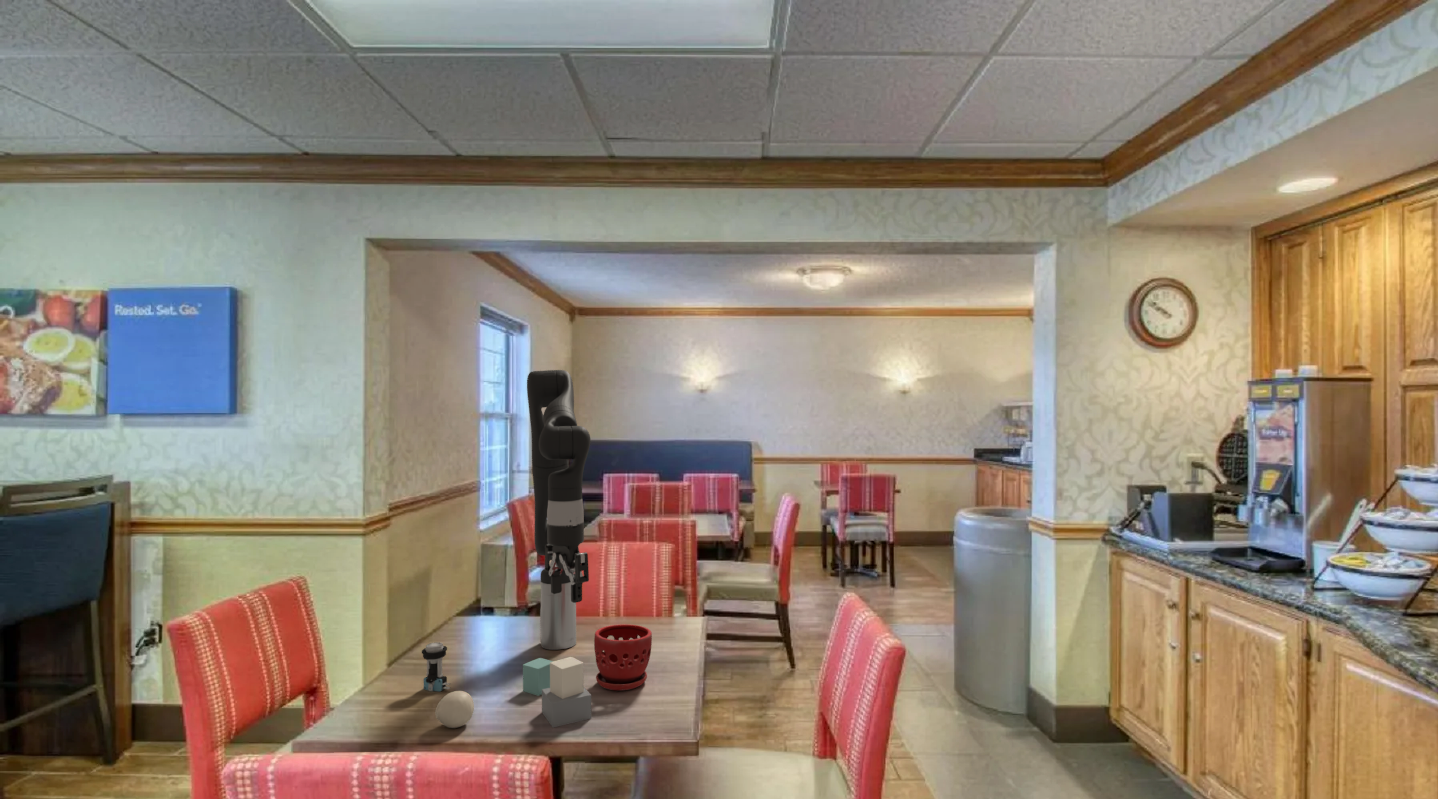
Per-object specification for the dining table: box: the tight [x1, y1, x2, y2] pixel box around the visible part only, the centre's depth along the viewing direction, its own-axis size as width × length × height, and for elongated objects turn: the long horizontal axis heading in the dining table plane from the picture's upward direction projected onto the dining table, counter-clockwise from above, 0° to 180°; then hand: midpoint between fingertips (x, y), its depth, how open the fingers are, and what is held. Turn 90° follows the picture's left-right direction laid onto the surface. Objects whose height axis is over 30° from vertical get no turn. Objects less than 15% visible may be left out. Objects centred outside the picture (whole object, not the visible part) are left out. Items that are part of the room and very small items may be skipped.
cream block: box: [550, 656, 585, 699], centre depth 144 cm, size 5×5×6 cm
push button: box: [421, 642, 452, 692], centre depth 158 cm, size 7×5×10 cm
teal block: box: [522, 657, 555, 697], centre depth 158 cm, size 5×5×6 cm
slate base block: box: [541, 687, 592, 728], centre depth 144 cm, size 8×8×5 cm
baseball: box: [434, 690, 475, 729], centre depth 140 cm, size 7×7×7 cm
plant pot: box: [593, 623, 653, 691], centre depth 161 cm, size 13×13×12 cm
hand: (566, 597), depth 147 cm, fingers open, 8 cm apart
